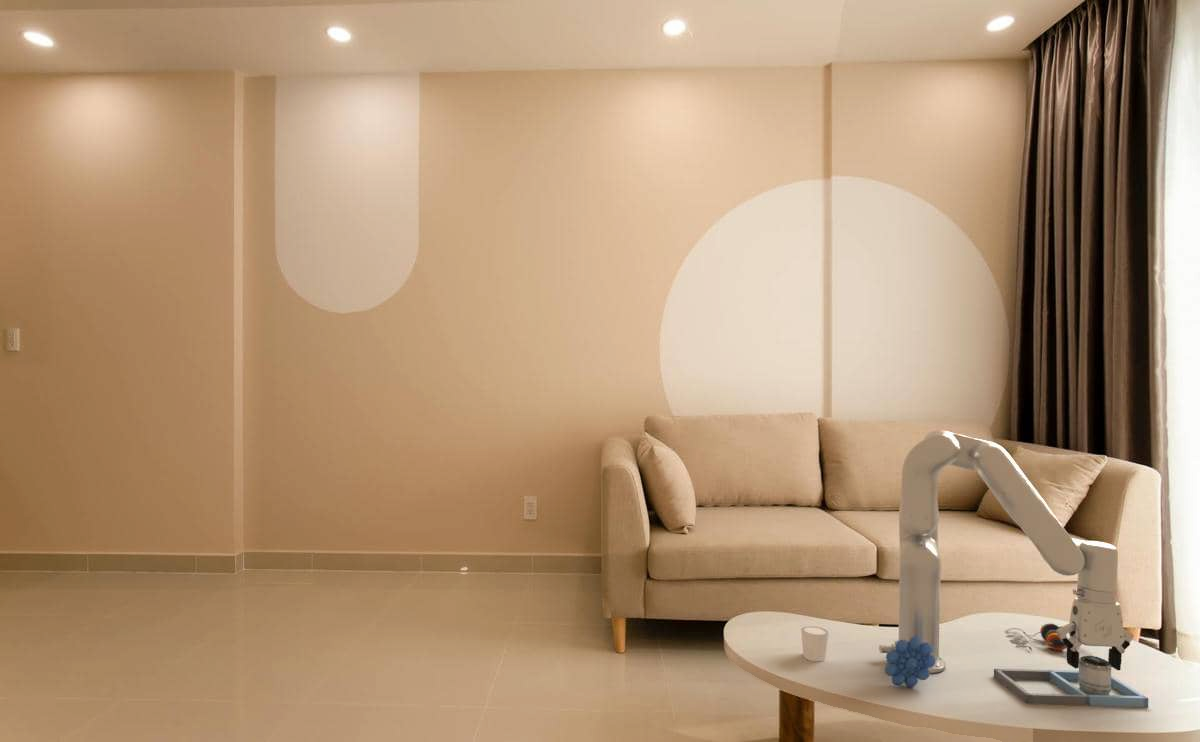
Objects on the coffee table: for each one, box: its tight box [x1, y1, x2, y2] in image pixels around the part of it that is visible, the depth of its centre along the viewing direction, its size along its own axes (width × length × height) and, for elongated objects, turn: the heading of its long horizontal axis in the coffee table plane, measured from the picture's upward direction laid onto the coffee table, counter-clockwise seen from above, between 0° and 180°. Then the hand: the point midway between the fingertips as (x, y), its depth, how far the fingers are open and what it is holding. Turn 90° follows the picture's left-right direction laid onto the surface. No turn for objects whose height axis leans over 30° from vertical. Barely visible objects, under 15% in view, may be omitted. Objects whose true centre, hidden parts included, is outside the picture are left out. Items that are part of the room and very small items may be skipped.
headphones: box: [1005, 623, 1076, 652], centre depth 193 cm, size 17×5×20 cm
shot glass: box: [800, 625, 830, 662], centre depth 182 cm, size 7×7×7 cm
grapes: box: [884, 637, 935, 688], centre depth 167 cm, size 12×7×12 cm, turn 87°
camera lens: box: [1078, 655, 1112, 695], centre depth 165 cm, size 6×6×8 cm
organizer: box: [993, 668, 1149, 708], centre depth 165 cm, size 27×14×2 cm, turn 89°
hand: (1093, 666), depth 165 cm, fingers open, 9 cm apart
